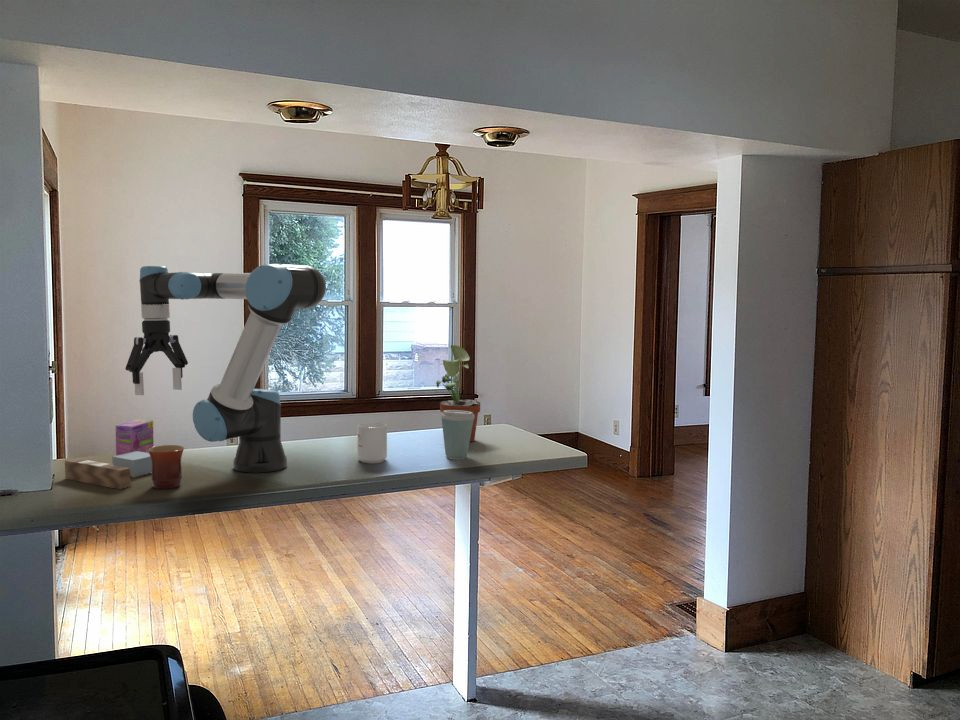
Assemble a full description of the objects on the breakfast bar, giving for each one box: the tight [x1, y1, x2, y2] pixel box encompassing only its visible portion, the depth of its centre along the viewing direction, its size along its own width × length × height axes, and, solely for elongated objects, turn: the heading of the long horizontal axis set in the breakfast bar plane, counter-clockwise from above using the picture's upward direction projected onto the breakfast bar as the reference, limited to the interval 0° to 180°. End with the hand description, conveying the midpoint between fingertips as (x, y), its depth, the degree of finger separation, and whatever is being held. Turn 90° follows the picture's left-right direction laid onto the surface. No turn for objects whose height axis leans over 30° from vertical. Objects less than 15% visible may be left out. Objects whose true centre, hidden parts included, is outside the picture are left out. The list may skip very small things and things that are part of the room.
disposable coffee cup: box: [440, 410, 475, 461], centre depth 243 cm, size 11×11×15 cm
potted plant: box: [435, 344, 481, 443], centre depth 268 cm, size 16×15×35 cm
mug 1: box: [148, 444, 185, 490], centre depth 207 cm, size 12×9×10 cm
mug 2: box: [357, 421, 388, 464], centre depth 239 cm, size 12×9×11 cm
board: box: [64, 458, 131, 490], centre depth 208 cm, size 22×3×5 cm, turn 63°
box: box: [115, 419, 155, 456], centre depth 233 cm, size 10×6×12 cm, turn 168°
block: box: [112, 451, 152, 478], centre depth 220 cm, size 9×8×5 cm
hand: (159, 392), depth 228 cm, fingers open, 13 cm apart
